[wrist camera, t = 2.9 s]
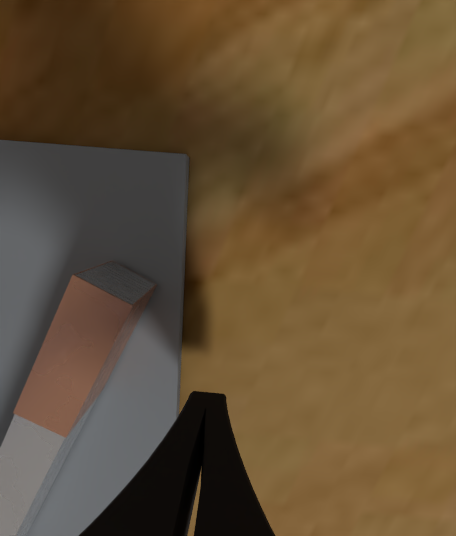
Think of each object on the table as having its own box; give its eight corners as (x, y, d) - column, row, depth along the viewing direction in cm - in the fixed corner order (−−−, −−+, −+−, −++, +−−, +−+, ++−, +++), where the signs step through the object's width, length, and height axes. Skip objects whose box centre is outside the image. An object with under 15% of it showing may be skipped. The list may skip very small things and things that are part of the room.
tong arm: (9, 569, 14) (-52, 664, 11) (-60, 541, 14) (-142, 630, 11) (157, 284, 10) (124, 312, 7) (65, 234, 10) (-10, 242, 7)
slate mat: (172, 569, 15) (169, 583, 14) (-63, 545, 15) (-75, 558, 15) (189, 157, 10) (186, 154, 9) (-167, 130, 10) (-192, 124, 9)
